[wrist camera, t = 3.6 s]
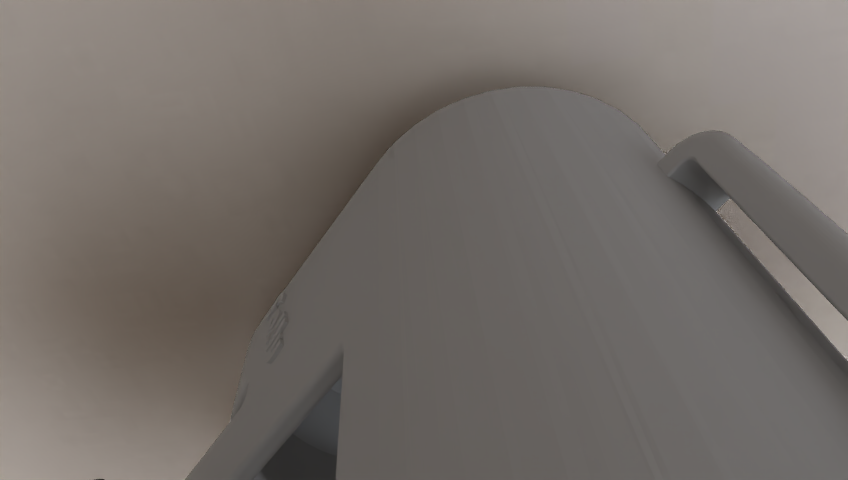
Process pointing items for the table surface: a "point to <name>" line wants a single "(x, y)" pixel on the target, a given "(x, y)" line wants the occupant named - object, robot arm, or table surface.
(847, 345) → the table surface
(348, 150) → the table surface
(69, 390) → the table surface
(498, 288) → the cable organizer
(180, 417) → the table surface
